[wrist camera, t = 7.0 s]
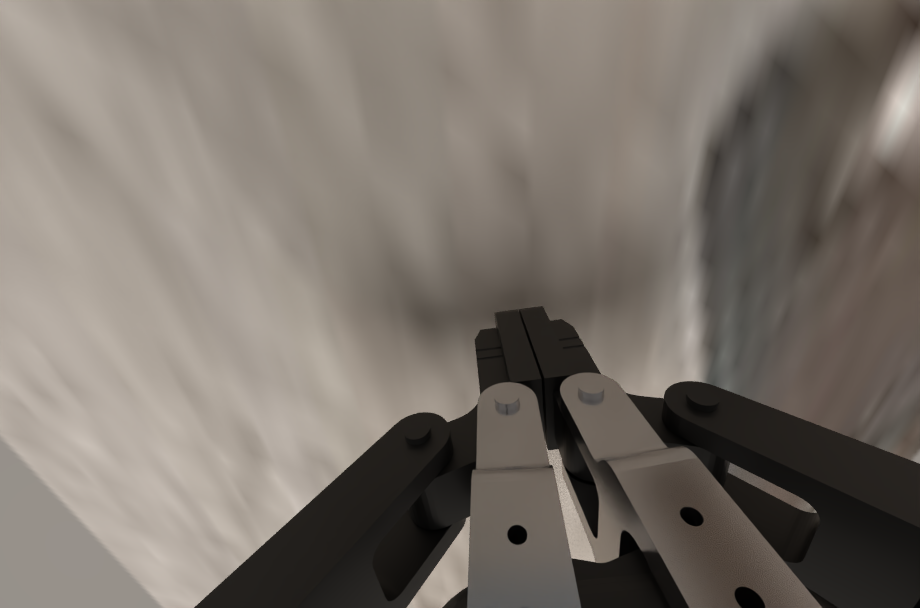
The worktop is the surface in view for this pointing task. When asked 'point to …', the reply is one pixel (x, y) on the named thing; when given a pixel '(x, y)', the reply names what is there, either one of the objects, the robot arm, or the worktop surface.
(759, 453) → the robot arm
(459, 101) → the worktop surface
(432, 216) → the worktop surface
